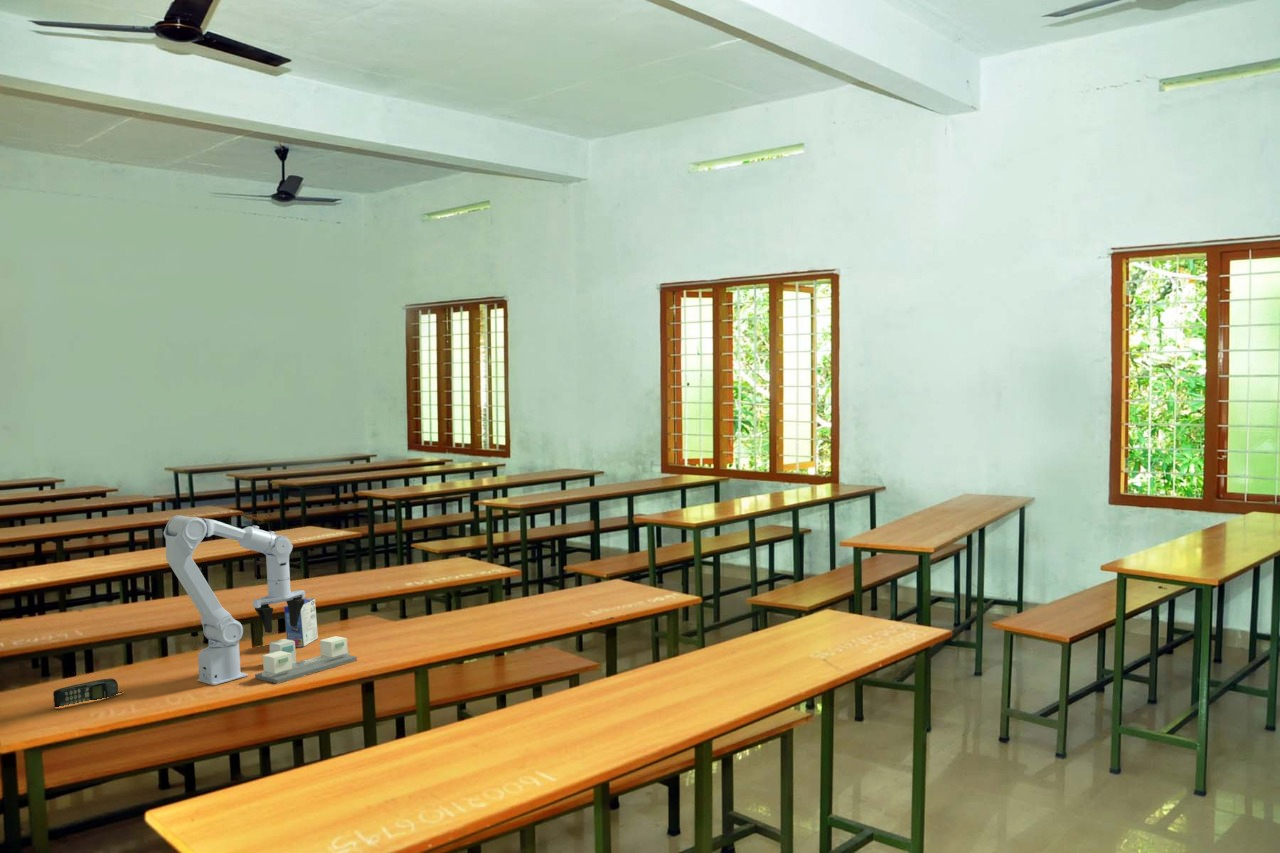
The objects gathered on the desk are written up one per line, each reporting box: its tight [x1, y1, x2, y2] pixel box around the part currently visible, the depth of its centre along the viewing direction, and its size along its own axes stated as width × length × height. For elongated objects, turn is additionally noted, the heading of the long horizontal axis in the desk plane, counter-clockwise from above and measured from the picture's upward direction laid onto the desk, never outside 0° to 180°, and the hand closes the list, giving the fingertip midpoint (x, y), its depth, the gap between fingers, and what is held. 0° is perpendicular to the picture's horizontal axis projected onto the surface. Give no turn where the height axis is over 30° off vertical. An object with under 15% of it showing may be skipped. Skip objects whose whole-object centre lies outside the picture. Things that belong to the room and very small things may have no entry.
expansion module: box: [268, 638, 297, 664], centre depth 264 cm, size 4×5×6 cm
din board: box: [254, 654, 358, 684], centre depth 257 cm, size 24×10×1 cm, turn 143°
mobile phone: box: [52, 678, 124, 708], centre depth 236 cm, size 5×3×15 cm
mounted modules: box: [262, 635, 349, 673], centre depth 257 cm, size 22×5×4 cm, turn 143°
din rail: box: [262, 650, 350, 678], centre depth 257 cm, size 24×4×1 cm, turn 143°
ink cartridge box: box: [283, 598, 319, 648], centre depth 286 cm, size 10×6×14 cm, turn 174°
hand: (281, 629), depth 264 cm, fingers open, 7 cm apart
